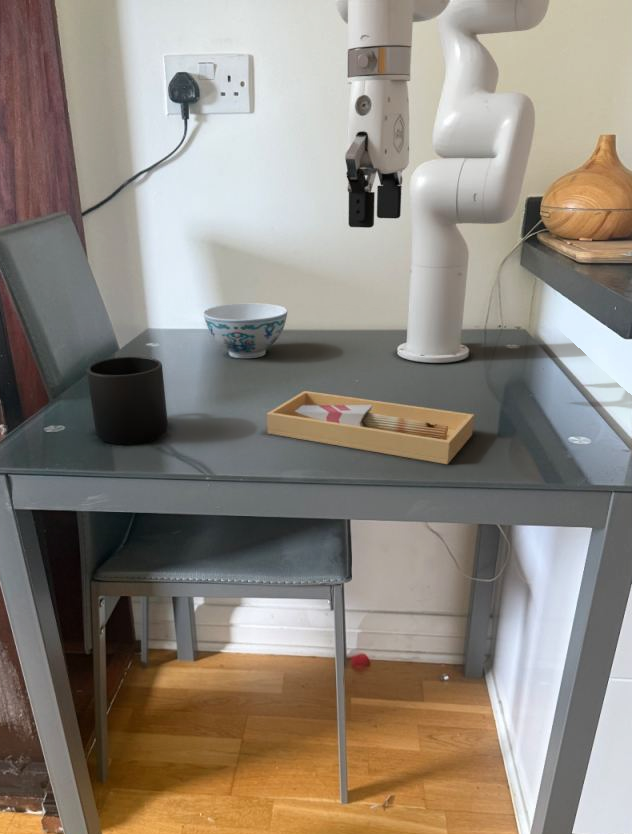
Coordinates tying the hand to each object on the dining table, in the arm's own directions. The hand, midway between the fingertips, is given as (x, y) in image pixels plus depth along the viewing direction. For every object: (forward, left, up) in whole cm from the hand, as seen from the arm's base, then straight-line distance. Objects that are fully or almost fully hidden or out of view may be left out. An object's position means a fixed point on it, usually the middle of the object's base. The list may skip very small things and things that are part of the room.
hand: (375, 222), depth 93 cm
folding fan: (+12, +5, -24) cm, 27 cm away
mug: (+23, -24, -25) cm, 42 cm away
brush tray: (+12, +5, -25) cm, 28 cm away
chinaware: (-18, -31, -25) cm, 44 cm away
